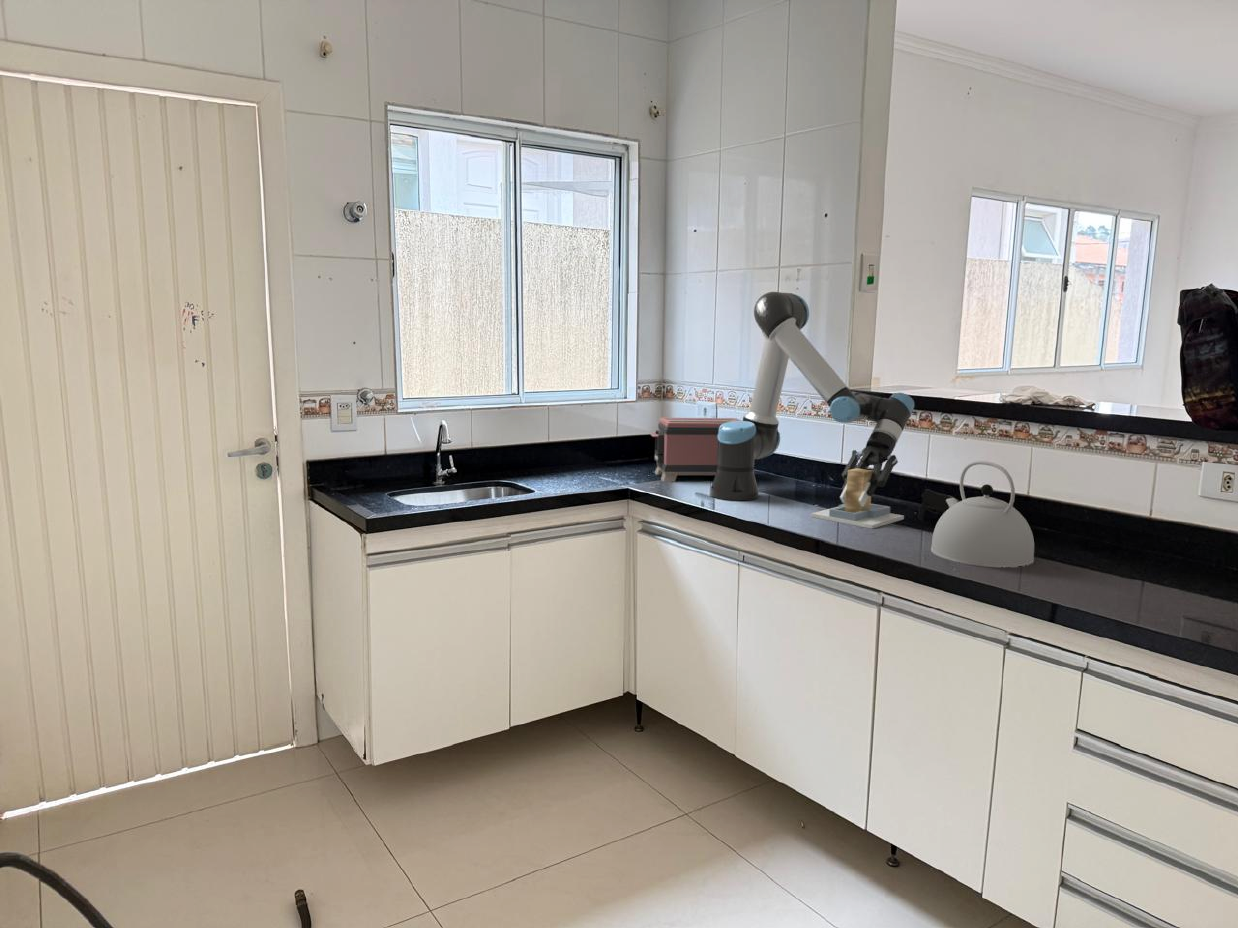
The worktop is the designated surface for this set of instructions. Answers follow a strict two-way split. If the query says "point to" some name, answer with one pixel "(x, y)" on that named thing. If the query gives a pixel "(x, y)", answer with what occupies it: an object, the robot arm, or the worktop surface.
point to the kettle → (984, 530)
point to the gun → (933, 502)
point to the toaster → (687, 446)
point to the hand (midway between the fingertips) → (851, 501)
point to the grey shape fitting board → (860, 516)
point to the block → (857, 489)
